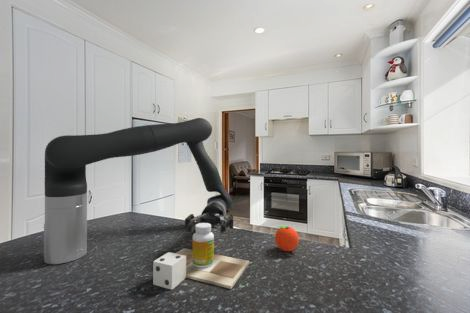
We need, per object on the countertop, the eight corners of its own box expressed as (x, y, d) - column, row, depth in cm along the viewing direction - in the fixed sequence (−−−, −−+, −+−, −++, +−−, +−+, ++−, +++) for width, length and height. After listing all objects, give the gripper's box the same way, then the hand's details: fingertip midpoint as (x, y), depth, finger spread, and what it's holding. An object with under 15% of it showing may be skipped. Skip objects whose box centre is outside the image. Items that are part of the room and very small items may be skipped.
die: (152, 284, 47) (153, 261, 47) (168, 273, 52) (168, 251, 52) (171, 290, 45) (171, 265, 45) (186, 277, 50) (186, 255, 50)
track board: (154, 269, 53) (154, 266, 53) (183, 250, 65) (183, 247, 65) (231, 289, 46) (231, 285, 46) (249, 263, 57) (249, 260, 57)
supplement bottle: (210, 269, 52) (210, 229, 52) (188, 267, 53) (189, 227, 53) (216, 259, 57) (216, 222, 57) (197, 257, 58) (197, 221, 58)
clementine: (267, 251, 64) (268, 226, 64) (276, 243, 70) (276, 221, 70) (294, 257, 60) (295, 231, 60) (301, 248, 66) (301, 225, 66)
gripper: (193, 202, 75) (179, 214, 59) (235, 202, 74) (232, 215, 58) (193, 224, 75) (179, 242, 59) (235, 224, 74) (232, 243, 58)
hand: (206, 229), depth 59 cm, fingers open, 8 cm apart
